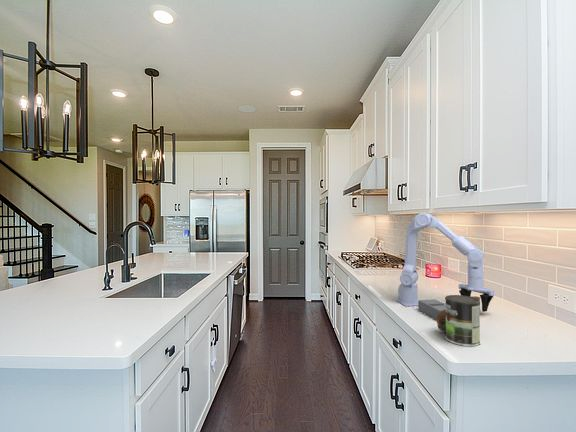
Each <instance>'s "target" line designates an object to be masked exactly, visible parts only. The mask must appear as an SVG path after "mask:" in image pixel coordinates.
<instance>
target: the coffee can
mask: <svg viewBox="0 0 576 432" xmlns="http://www.w3.org/2000/svg"><path fill="white" fill-rule="evenodd" d="M444 299H445V303H446V333H445V339H446V340H447V342H450V343H451V344H454V345H458V346H460V347H461V346H462V347H469V348H470V347H471V348H473V347H477V346H479V345H481V337H480V335H481V333H480V332H481V331H480V329H481V328H480V327H481V326H480V325H481V321H480V319H481V318H480V313H481V299H480V300H479V299H477V298H474V297H472V296H470V297H469V296H463V295H461V294H450V295H446V296H445V297H444Z"/></svg>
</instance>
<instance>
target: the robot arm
mask: <svg viewBox="0 0 576 432" xmlns="http://www.w3.org/2000/svg"><path fill="white" fill-rule="evenodd" d="M428 227H429V228H431V229H436V230H437V231H439V232H440V233H441V234H443V235H444V236H445V237H446V238H448V239H449V240H450V241H451V245H452V247H454V248H455V249H456V250H458V252H460V253H461V254H462V255H464V256H466V259H467V261H468V262H467V284H464V283H460V284H459V283H458V289H459V291H458V292H459V295H463V296H469V297H472V296H471V294H472V292H474V293H478V294H480V295H479V297H480V303H481V311H482V312H486V313H487V312H488V308H489V305H490V303H491V301H492V300H493V298H494V296H495V290H492V289H489V288H486V287H484V263H483V259H484V252H483V251H482V250H481V249H480V248H478V246H477V245H476V244H475V245H474V244H472V243H471V242H470V240H468V237H467V236H464V235H457V234H456V232H454V231H453V230H452V229H451V228H449V227H448V226H447V225H446V224H444V222H442V220H440V219H438V218H437V217H436V216H434V215H432V214H431V213H429V212H421V213H418V214H417V215H415V216H414V217H413V219H412V220H411V221H410V223H409V224H408V225H407V227H406V237H405V238H406V239H405V249H404V250H405V254H404V265H403V267H402V272H401V275H400V277H399V281H400V283H401V284H399V285H398V288H397V292H398V294H397V296H398V299H396V302H398V303H399V304H401V305H403V306H404V307H416V306H418V300H419V299H418V298H419V297H418V296H419V295H418V283H417V281H418V279H419V275H418V271H417V270H418V267H417V253H418V239H419V232H420V231H422V230H423V229H424V228H428Z"/></svg>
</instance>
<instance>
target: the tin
mask: <svg viewBox="0 0 576 432" xmlns="http://www.w3.org/2000/svg"><path fill="white" fill-rule="evenodd" d="M436 325H437V327H438V329H439V330H440V331H441V332H443V333H445V334H446V309H444V310H442V311H441V312H440V313H439V314H438V316H437V320H436Z"/></svg>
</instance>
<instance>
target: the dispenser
mask: <svg viewBox="0 0 576 432" xmlns="http://www.w3.org/2000/svg"><path fill="white" fill-rule="evenodd" d="M417 309H418V311H420V312H421V313H422V314H424V315H426V316H428V317H430V318H431V317H432V318H431V319H433V320H435V321H437V316H438V314H439V313H440V312H441V311H442V310H444V309H446V302H444V301H441V300H439V299H437V298H434V299H418V308H417Z"/></svg>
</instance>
